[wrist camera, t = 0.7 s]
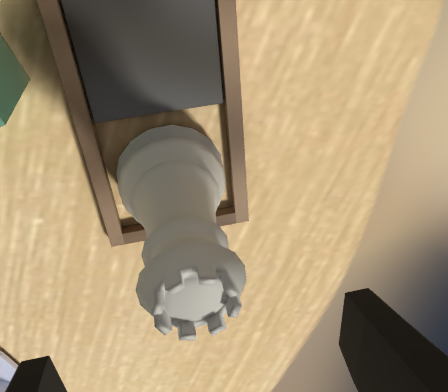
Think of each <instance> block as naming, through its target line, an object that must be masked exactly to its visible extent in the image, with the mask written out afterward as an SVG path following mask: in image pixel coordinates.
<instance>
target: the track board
mask: <svg viewBox="0 0 448 392" xmlns="http://www.w3.org/2000/svg"><path fill="white" fill-rule="evenodd" d="M61 2H62V6H63V9H64V13H65V17H66V20H67V24H68V28H69V31H70V35H71V39H72V42H73V46H74V49H75V53H76V57H77V60H78V64H79V68H80V71H81V75H82V79H83V82H84V86H85V90H86V93H87V97H88V101H89V104H90V108H91V112H92V115H93V119H94V122H95V123H97V122H104V121H110V120H117V119H123V118H130V117H136V116H143V115H149V114H156V113H162V112H169V111H175V110H182V109H188V108H195V107H201V106H207V105H214V104H220V103H223V95H222V83H221V72H220V60H219V48H218V36H217V25H216V13H215V1H214V0H61ZM37 3H38V7H39V10H40V13H41V17H42V20H43V23H44V26H45V30H46V33H47V36H48V40H49V43H50V46H51V49H52V53H53V56H54V59H55V63H56V66H57V69H58V72H59V76H60V79H61V82H62V86H63V89H64V92H65V95H66V99H67V102H68V105H69V109H70V112H71V115H72V118H73V122H74V125H75V128H76V132H77V135H78V138H79V141H80V145H81V148H82V151H83V155H84V158H85V161H86V164H87V168H88V171H89V174H90V178H91V181H92V184H93V188H94V191H95V194H96V197H97V201H98V204H99V207H100V211H101V214H102V217H103V220H104V224H105V227H106V230H107V234H108V237H109V240H110V243H111V247H113V246H118V245H124V244H129V243H134V242H139V241H145V240H146V239H147V236H146V232H145V229H144V227H143V226H142V225H141V224H137V225H132V226H126V227H122V226H121V222H120V218H119V215H118V211H117V207H116V204H115V200H114V197H113V193H112V189H111V186H110V182H109V179H108V175H107V171H106V168H105V164H104V160H103V157H102V153H101V150H100V146H99V142H98V139H97V135H96V131H95V128H94V124H93V121H92V117H91V113H90V110H89V106H88V102H87V99H86V95H85V92H84V88H83V84H82V81H81V77H80V74H79V70H78V66H77V63H76V59H75V55H74V52H73V48H72V45H71V41H70V37H69V34H68V30H67V26H66V23H65V19H64V16H63V12H62V8H61V5H60V1H59V0H37ZM216 8H217V20H218V32H219V44H220V56H221V68H222V80H223V92H224V104H225V116H226V128H227V140H228V151H229V163H230V175H231V187H232V199H233V207H229V208H224V209H219V210H216V213H215V214H216V224H217V225H219V226H224V225H229V224H234V223H240V222H245V221H249V217H248V200H247V184H246V167H245V150H244V133H243V116H242V100H241V83H240V66H239V49H238V33H237V16H236V0H216Z"/></svg>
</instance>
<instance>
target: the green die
mask: <svg viewBox="0 0 448 392" xmlns="http://www.w3.org/2000/svg"><path fill="white" fill-rule="evenodd" d="M29 80H30V78H29V77H28V75H27V73H26V72H25V70H24V69H23V67H22V66H21V64H20V63H19V61H18V60H17V58H16V57H15V55H14V54H13V52H12V51H11V49H10V48H9V46H8V44H7V43H6V41H5V40H4V38H3V37H2V35H1V34H0V127H2V126H4V125H6V123H7V121H8V119H9V117H10V115H11V114H12V112H13V110H14V108H15V106H16V104H17V103H18V101H19V99H20V97H21V95H22V93H23V92H24V90H25V88H26V86H27V84H28V82H29Z"/></svg>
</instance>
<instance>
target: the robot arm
mask: <svg viewBox="0 0 448 392" xmlns="http://www.w3.org/2000/svg"><path fill="white" fill-rule="evenodd" d="M339 346H340V349H341V352H342V354H343V357H344V359H345V362H346V364H347V367H348V369H349V372H350V374H351V377H352V379H353V381H354V384H355V386H356V388H357V390H358V392H448V356H447V355H446V354H445V353H444V352H442V351H441V350H440V349H439V348H437V347H436V346H435V345H434V344H433V343H431V342H430V341H429V340H428V339H427V338H425V337H424V336H423V335H422V334H421V333H419V332H418V331H417V330H416V329H415V328H413V327H412V326H411V325H410V324H409V323H408V322H407V321H405V320H404V319H403V318H402V317H401V316H400V315H399V314H397V313H396V312H395V311H394V310H393V309H392V308H391V307H389V306H388V305H387V304H386V303H385V302H384V301H383V300H382V299H380V298H379V297H378V296H377V295H376V294H375V293H374V292H373V291H371V290H370V289H369V288H366V289H361V290H357V291H352V292H348V293H345V299H344V306H343V314H342V322H341V331H340V339H339ZM0 392H67V390H66V388H65V386H64V384H63V382H62V380H61V378H60V376H59V374H58V372H57V370H56V368H55V366H54V364H53V362H52V360H51V358H50V356H45V357H41V358H36V359H31V360H26V361H22V362H21V363H20V364H19V365H17V364H16V363H15V362H14V361H13V360H11V359H10V358H9V357H8V356H7V355H6V354H4V353H3V352H2V351H0Z"/></svg>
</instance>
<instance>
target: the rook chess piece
mask: <svg viewBox="0 0 448 392" xmlns="http://www.w3.org/2000/svg"><path fill="white" fill-rule="evenodd" d="M116 177H117V181H118V189H119V193H120V196H121V199H122V202H123V205H124V207H125V209H126V210H127V211H128V212H129V213H130V214H131V215H132V216H133V217H134V218H135V219H136V221H137V222H139V223H140V224H141V225H142V226H143V227H144V229H145V232H146V236H147V239H146V241H145V242H144V247H143V251H142V258H143V262H144V265H145V268H144V269H143V270H142V271H141V272H140V274H139V278H138V282H137V287H136V293H137V296H138V299H139V302H140V305H141V306H142V307H143V308H144V309H145V310H147V311H148V312H149V313H150V314H151V315H152V316H153V317H154V322H155V327H156V328H157V329H158V330H159V331H160V332H161V333H163V334H164V335H166V334H167V333H169V332H170V331H171V330H172V326H174V327H177V329H178V336H179V340H196V331H195V327H199V326H203V325H207V324H208V329H209V332H210V334H211V335H212V336H214V335H215V334H217V333H219V332H221V331H223V330H225V329H226V325H225V321H224V317H223V316H224V315H225V314H226V313H227V314H228V316H229V317H234V318H237V316H238V314H239V311H240V309H241V306H242V305H241V302H240V299H239V297H240V295H241V293H242V290H243V288H244V285H245V283H246V273H245V265H244V264H243V263H242V261H241V260H240V259H239V257H238V256H237V255H236V253H235V252H233V251H231V250H229V247H228V240H227V236H226V234H225V233H224V232H223V230H222V229H221V228H220V227H219V225H217V224H216V214H215V213H216V210H217V207H218V206H219V204H220V201H221V198H222V195H223V192H224V189H225V176H224V169H223V165H222V162H221V155H220V153H219V152H218V150H217V149H216V147H215V146H214V144H213V143H212V141H211V140H210V139H209V138H207V137H206V136H204V135H203V134H201V133H200V132H198V131H196V130H195V129H193V128H188V127H182V126H177V125H167V126H162V127H157V128H151V129H148V130H147V131H145V132H144V133H142V134H140V135H139V136H137V137H136V138H134V139H132V140H131V141H130V143H129V144H128V145H127V147H126V148H125V150H124V151H123V152H122V154H121V155H120V157H119V161H118V167H117V173H116Z"/></svg>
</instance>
